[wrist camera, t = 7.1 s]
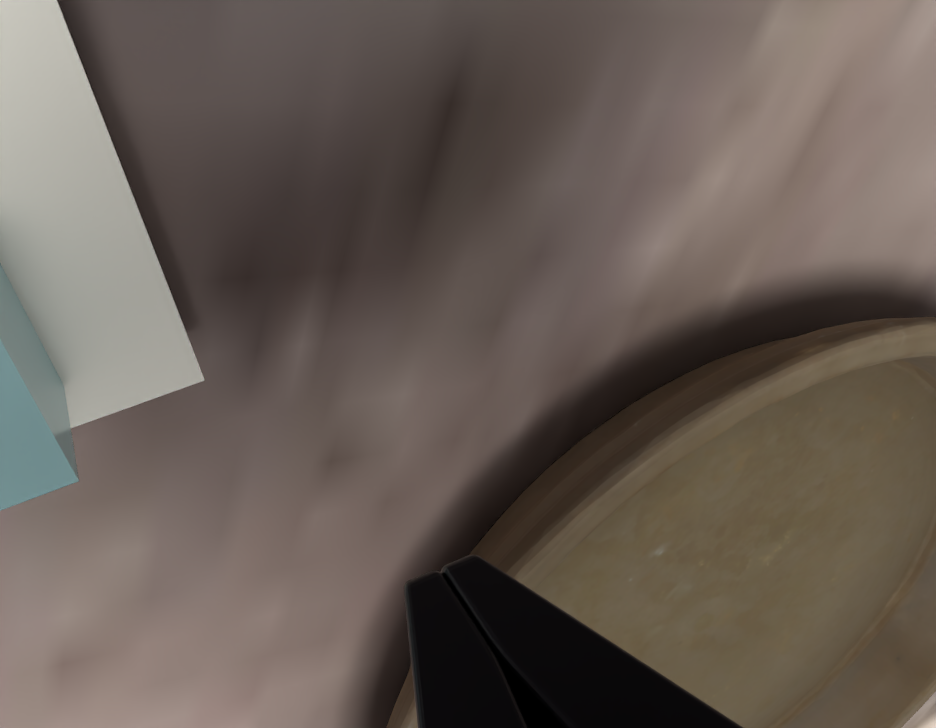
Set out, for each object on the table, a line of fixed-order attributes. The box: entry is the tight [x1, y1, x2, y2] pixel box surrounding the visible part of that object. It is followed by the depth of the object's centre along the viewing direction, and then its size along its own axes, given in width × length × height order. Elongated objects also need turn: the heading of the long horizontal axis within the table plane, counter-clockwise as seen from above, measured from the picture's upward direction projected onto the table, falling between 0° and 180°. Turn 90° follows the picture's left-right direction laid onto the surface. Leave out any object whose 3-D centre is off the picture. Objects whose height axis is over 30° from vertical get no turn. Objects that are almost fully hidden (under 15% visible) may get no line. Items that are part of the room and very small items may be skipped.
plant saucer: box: [386, 317, 936, 728], centre depth 35 cm, size 31×31×5 cm
